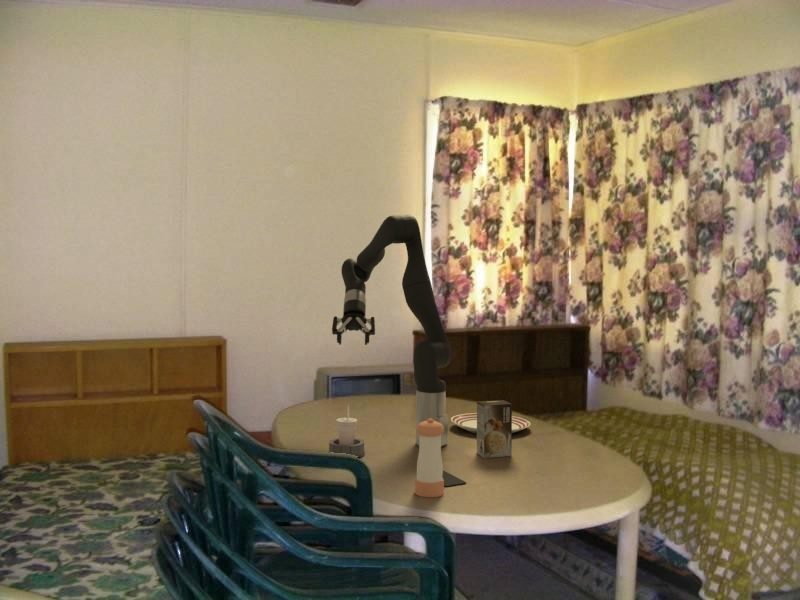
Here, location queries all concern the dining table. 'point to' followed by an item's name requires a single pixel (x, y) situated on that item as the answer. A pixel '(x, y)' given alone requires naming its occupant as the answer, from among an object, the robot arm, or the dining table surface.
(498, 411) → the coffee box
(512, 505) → the dining table surface
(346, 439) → the smoothie
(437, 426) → the salt shaker
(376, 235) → the robot arm
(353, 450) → the grey short hollow cylinder
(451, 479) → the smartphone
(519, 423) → the dinner plate
